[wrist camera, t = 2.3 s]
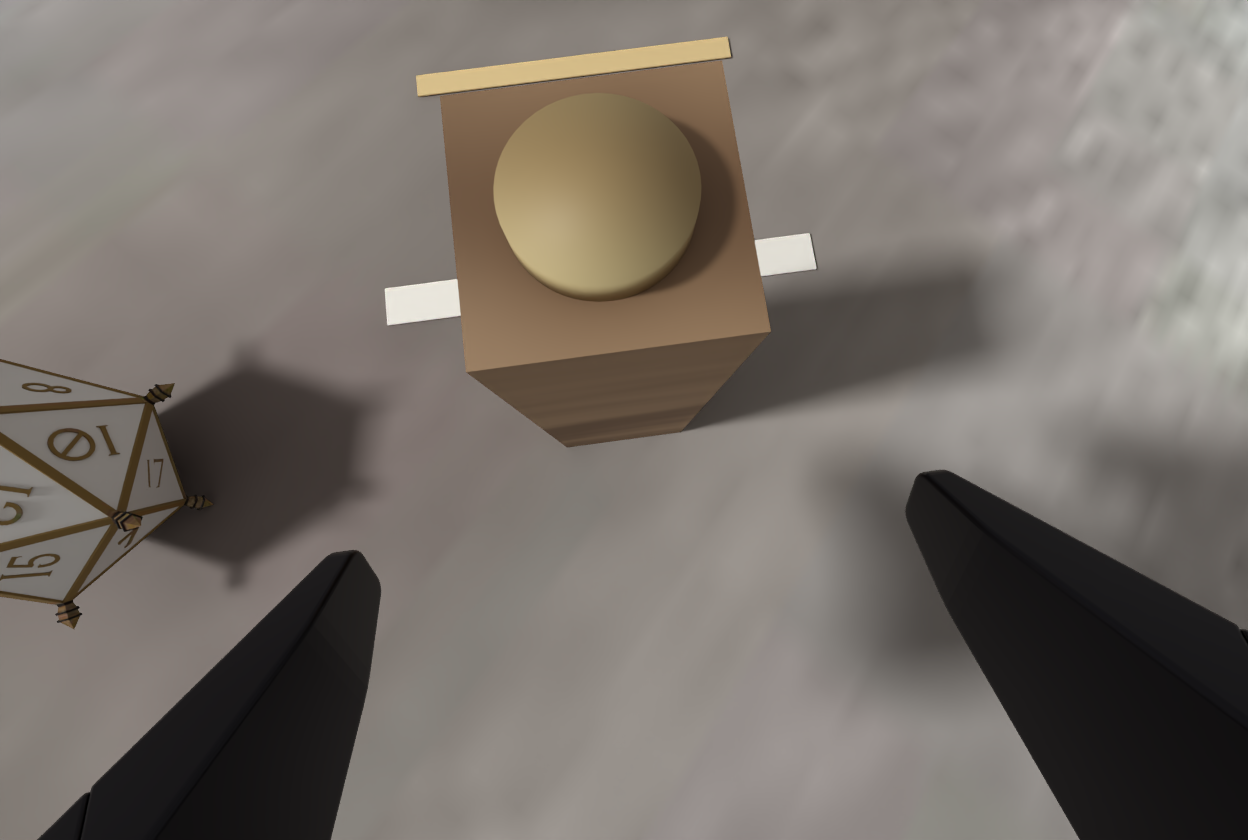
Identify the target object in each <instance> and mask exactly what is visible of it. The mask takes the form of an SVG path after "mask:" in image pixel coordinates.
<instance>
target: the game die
mask: <svg viewBox="0 0 1248 840" xmlns="http://www.w3.org/2000/svg"><path fill="white" fill-rule="evenodd" d="M174 384H175V383H173V384H165V385H157V384H156V385H155V386H156V387H155V388H153V389H149V391H150V392H149V393H148V394H147V396H140V395H136V394H132V393H129V392H125V391H121V390H117V389H113V388H109V387H106V386H102V385H98V384H94V383H90V382H86V381H83V380H79V379H75V378H71V377H67V376H63V375H60V374H56V373H52V372H48V371H44V370H40V369H36V368H33V367H29V366H25V365H21V364H17V363H13V362H10V361H6V360H2V359H0V597H6V598H13V599H20V600H27V601H34V602H41V603H48V604H55V605H57V606H58V607H59V608H58V613H56V614H55V615H56V616H57V615H58V617H59V620H58V621H57V623H59V622H61V623H63V624H65V625H67V626H69V627H71V628H73V629H74V628H75V626H76V624H77V622H78V619H79V617H80V615H82V613H79V611H78V609H79V606H76V605H75V604H74V603H73V599H74V598H76V597H77V596H78V595H79V594H80V593H81V592H83V591H84V590H85V589H86V588H87V587H88V586H90V585H91V584H92V583H93V582H94V581H96V580H97V579H98V578H99V577H100V576H101V575H103V574H104V573H105V572H106V571H107V570H108V569H110V568H111V567H112V566H113V565H114V564H115V563H117V562H118V561H119V560H120V559H121V558H122V557H124V556H125V555H126V554H127V553H128V552H130V551H131V550H132V549H133V548H134V547H135V546H137V545H138V544H139V543H140V542H141V541H142V540H144V539H145V538H146V537H147V536H148V535H149V534H151V533H152V532H153V531H154V530H155V529H157V528H158V527H159V526H160V525H161V524H162V523H164V522H165V521H166V520H167V519H168V518H169V517H171V516H172V515H173V514H174V513H175V512H176V511H178V510H179V509H180V508H181V507H182V506H184V505H186V506H189V507H190V508H191V509H192V508H197V510H200V509H202V508H204V507H207V506H211V505H214V504H212V503H211V502H210V501H209V500H207V499H206V498H205V496H204V495H203V496H202V497H200V496H197V495H195V496H191V497H188V496H186V495H185V492H184V489H183V486H182V483H181V480H180V478H179V475H178V472H177V469H176V466H175V463H174V461H173V458H172V455H171V452H170V449H169V446H168V444H167V441H166V438H165V435H164V432H163V429H162V427H161V424H160V421H159V418H158V415H157V412H156V410H155V407H154V404H155V403H156V402H160V401H162V402H164V401H165V400H164V399H166V398H167V397H169V398H170V397H171V392H172V389H173V387H174Z"/></svg>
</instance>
